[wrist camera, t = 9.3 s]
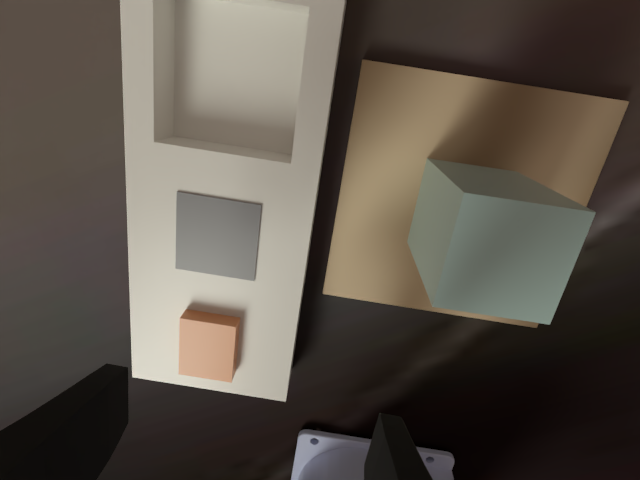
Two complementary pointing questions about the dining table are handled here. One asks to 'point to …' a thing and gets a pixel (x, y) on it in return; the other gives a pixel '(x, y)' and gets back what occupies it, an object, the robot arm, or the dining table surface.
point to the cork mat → (455, 146)
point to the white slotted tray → (223, 182)
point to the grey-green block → (494, 241)
